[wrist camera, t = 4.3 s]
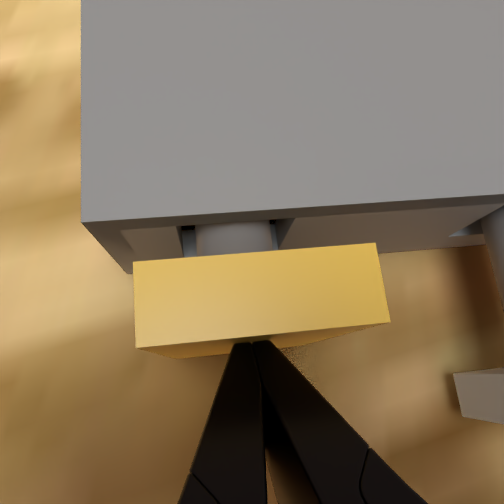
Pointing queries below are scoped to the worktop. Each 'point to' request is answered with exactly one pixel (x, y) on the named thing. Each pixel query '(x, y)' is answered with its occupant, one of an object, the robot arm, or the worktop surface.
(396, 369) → the worktop surface
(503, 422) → the light gray button
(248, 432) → the robot arm
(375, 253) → the mustard button
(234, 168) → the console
